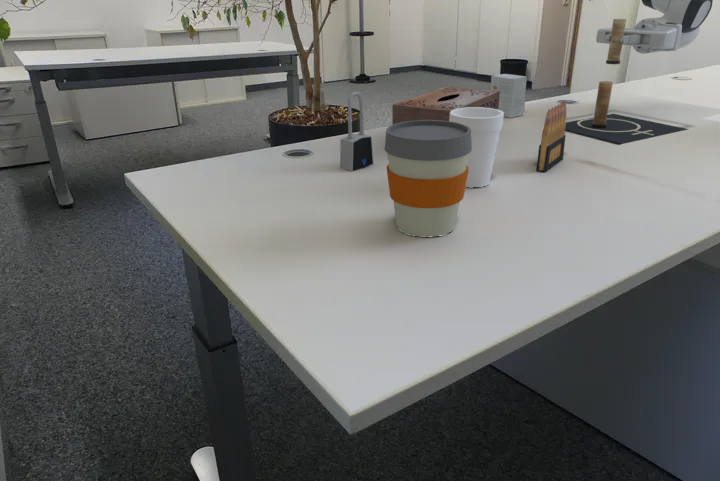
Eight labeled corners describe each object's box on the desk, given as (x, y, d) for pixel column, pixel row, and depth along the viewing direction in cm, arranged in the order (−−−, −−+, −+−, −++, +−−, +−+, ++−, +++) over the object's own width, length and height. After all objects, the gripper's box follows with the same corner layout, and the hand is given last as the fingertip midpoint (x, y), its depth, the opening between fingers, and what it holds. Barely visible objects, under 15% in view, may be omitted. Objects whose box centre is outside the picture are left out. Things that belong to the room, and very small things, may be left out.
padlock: (353, 171, 110) (351, 95, 104) (338, 167, 113) (335, 93, 106) (375, 163, 114) (374, 90, 108) (360, 160, 117) (358, 88, 111)
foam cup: (505, 188, 99) (512, 116, 93) (456, 192, 97) (460, 119, 92) (486, 172, 107) (491, 105, 102) (440, 176, 106) (443, 108, 100)
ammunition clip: (545, 172, 107) (552, 110, 102) (535, 171, 108) (542, 109, 103) (562, 159, 114) (570, 100, 109) (554, 157, 115) (561, 99, 110)
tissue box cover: (450, 158, 117) (452, 111, 113) (392, 149, 124) (392, 104, 120) (496, 132, 136) (499, 91, 132) (443, 125, 143) (445, 86, 139)
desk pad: (690, 131, 132) (691, 129, 132) (624, 146, 122) (624, 143, 122) (613, 115, 150) (613, 113, 150) (549, 126, 140) (549, 124, 139)
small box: (523, 115, 152) (527, 76, 148) (510, 118, 149) (513, 78, 145) (502, 111, 158) (505, 73, 154) (488, 113, 155) (491, 75, 151)
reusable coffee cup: (481, 236, 81) (489, 135, 74) (401, 248, 78) (402, 144, 71) (445, 206, 92) (449, 116, 85) (374, 216, 89) (373, 123, 82)
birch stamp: (622, 63, 143) (630, 18, 138) (613, 64, 141) (621, 19, 137) (611, 62, 145) (618, 18, 141) (602, 63, 144) (609, 19, 139)
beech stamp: (609, 127, 136) (616, 82, 132) (599, 128, 135) (607, 83, 130) (597, 124, 139) (604, 80, 135) (588, 126, 138) (595, 82, 133)
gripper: (618, 21, 153) (583, 24, 147) (688, 24, 137) (652, 27, 131) (614, 45, 156) (580, 49, 150) (682, 51, 140) (647, 55, 134)
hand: (614, 39), depth 140 cm, fingers closed on birch stamp, 3 cm apart
